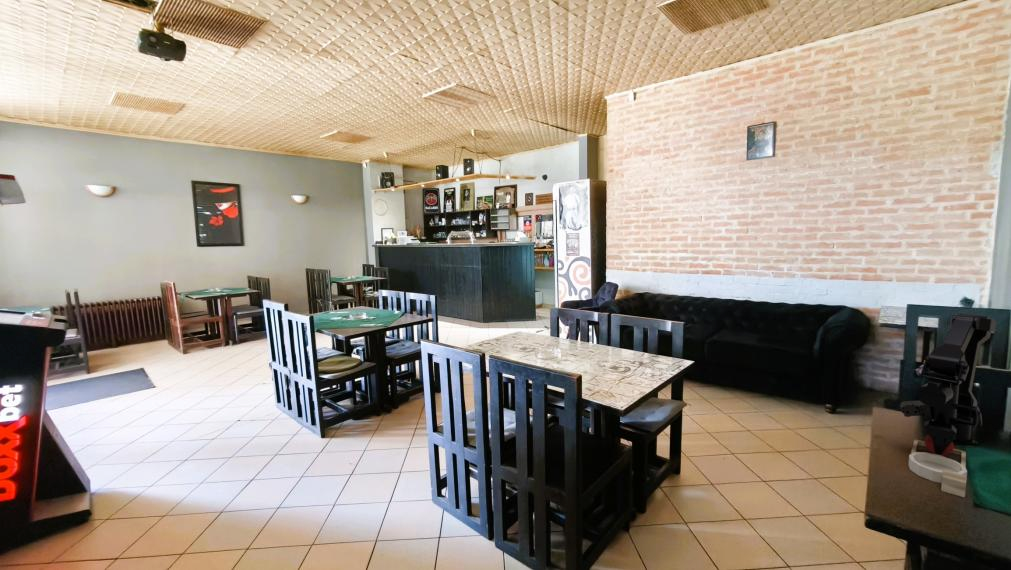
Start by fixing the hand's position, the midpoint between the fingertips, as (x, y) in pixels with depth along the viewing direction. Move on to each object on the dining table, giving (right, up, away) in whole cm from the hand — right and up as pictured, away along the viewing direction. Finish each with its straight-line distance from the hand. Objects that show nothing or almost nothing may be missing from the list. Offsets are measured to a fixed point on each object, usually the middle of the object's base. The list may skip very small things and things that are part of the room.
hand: (938, 448), depth 120 cm
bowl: (-8, -4, -7) cm, 12 cm away
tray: (0, -2, 0) cm, 2 cm away
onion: (0, -2, 0) cm, 2 cm away
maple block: (-12, -5, -15) cm, 19 cm away
